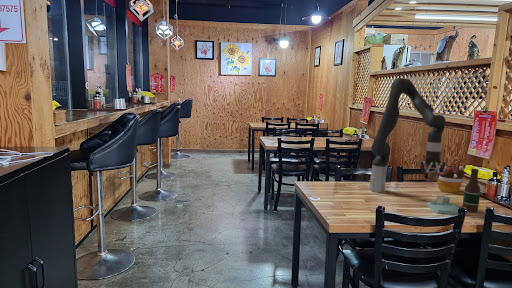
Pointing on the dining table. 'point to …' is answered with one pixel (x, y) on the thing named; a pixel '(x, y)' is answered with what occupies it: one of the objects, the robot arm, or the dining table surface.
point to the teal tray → (443, 208)
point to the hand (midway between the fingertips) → (431, 179)
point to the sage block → (442, 199)
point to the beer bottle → (472, 193)
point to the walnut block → (432, 176)
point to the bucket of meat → (451, 178)
